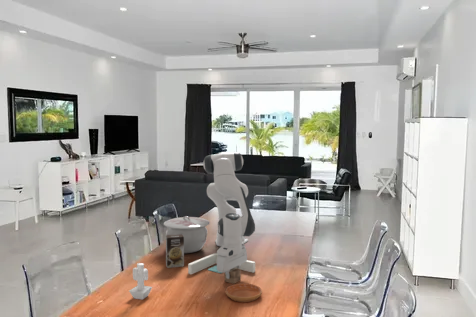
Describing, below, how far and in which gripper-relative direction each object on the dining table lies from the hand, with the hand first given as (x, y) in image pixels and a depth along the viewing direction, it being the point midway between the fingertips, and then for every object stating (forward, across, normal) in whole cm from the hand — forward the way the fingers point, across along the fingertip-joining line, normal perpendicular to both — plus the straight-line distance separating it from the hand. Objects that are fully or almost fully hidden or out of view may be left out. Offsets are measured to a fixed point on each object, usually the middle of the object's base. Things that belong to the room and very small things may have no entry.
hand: (232, 275), depth 201 cm
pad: (+2, -9, -15) cm, 18 cm away
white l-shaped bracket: (+2, -6, -10) cm, 12 cm away
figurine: (+3, +38, -22) cm, 44 cm away
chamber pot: (+3, -24, -51) cm, 56 cm away
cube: (+2, 0, 0) cm, 2 cm away
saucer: (+3, +11, +14) cm, 18 cm away
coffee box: (+3, 0, -38) cm, 38 cm away
